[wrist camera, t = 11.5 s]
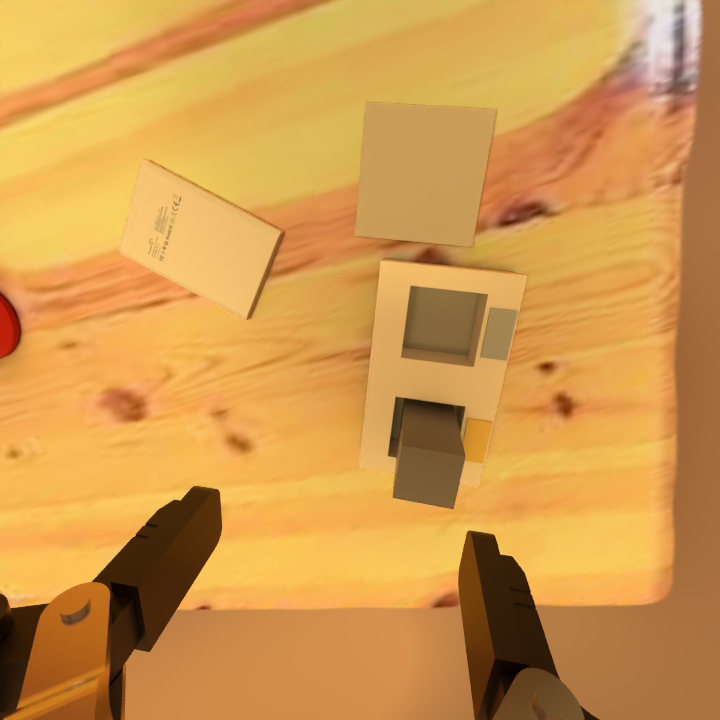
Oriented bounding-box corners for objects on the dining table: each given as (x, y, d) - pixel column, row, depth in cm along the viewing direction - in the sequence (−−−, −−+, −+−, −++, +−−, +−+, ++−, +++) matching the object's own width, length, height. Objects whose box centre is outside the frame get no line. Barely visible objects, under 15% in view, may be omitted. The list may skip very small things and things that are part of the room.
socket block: (385, 258, 30) (380, 260, 26) (512, 271, 29) (528, 276, 24) (364, 443, 35) (358, 469, 31) (471, 460, 34) (479, 489, 30)
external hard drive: (252, 317, 33) (130, 253, 33) (287, 232, 31) (154, 161, 31) (245, 321, 32) (116, 253, 32) (280, 231, 29) (140, 157, 29)
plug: (405, 391, 32) (401, 445, 23) (451, 399, 31) (465, 456, 23) (398, 432, 33) (392, 497, 24) (443, 440, 33) (453, 509, 24)
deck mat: (367, 105, 27) (365, 101, 26) (494, 113, 26) (496, 109, 25) (356, 236, 29) (354, 235, 29) (470, 247, 28) (471, 247, 28)
